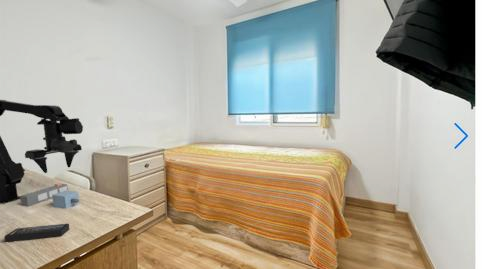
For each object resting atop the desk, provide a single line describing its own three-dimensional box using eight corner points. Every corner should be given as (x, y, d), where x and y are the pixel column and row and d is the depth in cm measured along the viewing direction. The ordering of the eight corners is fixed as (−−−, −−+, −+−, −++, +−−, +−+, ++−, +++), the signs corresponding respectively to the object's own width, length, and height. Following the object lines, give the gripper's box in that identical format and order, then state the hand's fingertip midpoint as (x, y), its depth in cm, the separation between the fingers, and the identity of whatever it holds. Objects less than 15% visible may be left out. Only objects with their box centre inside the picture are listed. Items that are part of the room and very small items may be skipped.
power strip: (21, 205, 86) (19, 193, 85) (62, 191, 100) (60, 181, 100) (28, 206, 85) (27, 194, 84) (68, 192, 99) (67, 182, 98)
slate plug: (50, 206, 85) (48, 194, 84) (63, 201, 89) (62, 189, 89) (71, 210, 81) (70, 197, 81) (84, 204, 86) (83, 192, 85)
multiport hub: (61, 237, 63) (60, 230, 63) (4, 244, 61) (3, 236, 61) (70, 229, 68) (69, 223, 68) (17, 235, 65) (16, 228, 65)
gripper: (40, 137, 81) (45, 177, 82) (88, 132, 98) (92, 165, 100) (21, 137, 84) (26, 175, 85) (71, 132, 101) (74, 164, 103)
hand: (57, 169), depth 93 cm, fingers open, 9 cm apart
